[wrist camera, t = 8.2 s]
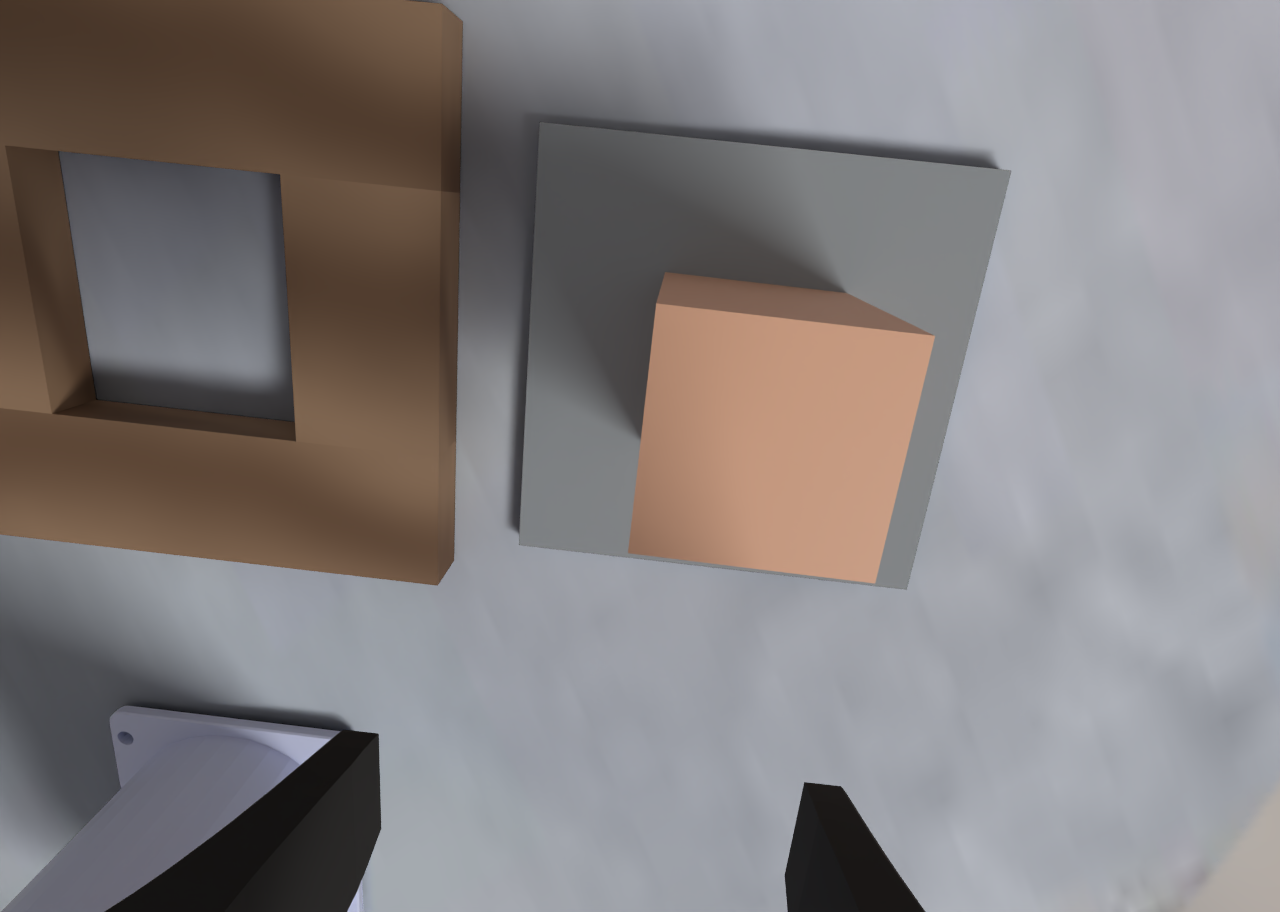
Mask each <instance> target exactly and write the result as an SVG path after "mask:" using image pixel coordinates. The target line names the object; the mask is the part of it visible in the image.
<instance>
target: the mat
mask: <svg viewBox="0 0 1280 912" xmlns="http://www.w3.org/2000/svg"><path fill="white" fill-rule="evenodd" d="M1010 174H1011V170H1001V169H992V168H982V167H972V166H963V165H953V164H943V163H933V162H924V161H914V160H904V159H894V158H885V157H875V156H865V155H856V154H846V153H836V152H826V151H817V150H807V149H797V148H788V147H778V146H768V145H758V144H749V143H739V142H729V141H719V140H710V139H700V138H690V137H681V136H671V135H661V134H651V133H642V132H632V131H622V130H613V129H603V128H593V127H583V126H574V125H564V124H554V123H545V122H539V142H538V162H537V183H536V203H535V224H534V244H533V265H532V285H531V306H530V326H529V347H528V367H527V388H526V409H525V429H524V450H523V470H522V491H521V511H520V532H519V545H522V546H531V547H540V548H549V549H557V550H566V551H575V552H583V553H592V554H601V555H609V556H618V557H627V558H635V559H644V560H653V561H661V562H670V563H679V564H687V565H696V566H705V567H714V568H722V569H731V570H740V571H748V572H757V573H766V574H774V575H783V576H792V577H800V578H809V579H818V580H826V581H835V582H844V583H852V584H861V585H870V586H879V587H887V588H896V589H905V590H907V587H908V583H909V579H910V575H911V571H912V567H913V563H914V559H915V555H916V551H917V547H918V543H919V539H920V535H921V531H922V527H923V523H924V519H925V515H926V511H927V507H928V503H929V499H930V495H931V491H932V487H933V483H934V479H935V475H936V471H937V467H938V463H939V459H940V455H941V451H942V447H943V443H944V439H945V435H946V431H947V427H948V423H949V419H950V415H951V411H952V407H953V403H954V399H955V395H956V391H957V387H958V383H959V379H960V375H961V370H962V366H963V362H964V358H965V354H966V350H967V346H968V342H969V338H970V334H971V330H972V326H973V322H974V318H975V314H976V310H977V306H978V302H979V298H980V294H981V290H982V286H983V282H984V278H985V274H986V270H987V266H988V262H989V258H990V254H991V250H992V246H993V242H994V238H995V234H996V230H997V226H998V222H999V218H1000V214H1001V210H1002V206H1003V202H1004V198H1005V194H1006V190H1007V186H1008V182H1009V178H1010ZM665 272H669V273H678V274H686V275H695V276H704V277H712V278H721V279H730V280H738V281H747V282H756V283H764V284H773V285H782V286H790V287H799V288H808V289H816V290H825V291H834V292H842V293H848V294H850V295H852V296H854V297H856V298H858V299H860V300H862V301H864V302H866V303H868V304H871V305H873V306H875V307H877V308H879V309H881V310H883V311H885V312H887V313H889V314H891V315H893V316H895V317H897V318H899V319H901V320H903V321H906V322H908V323H910V324H912V325H914V326H916V327H918V328H920V329H922V330H924V331H926V332H928V333H930V334H932V335H934V336H935V339H934V343H933V347H932V351H931V355H930V359H929V364H928V368H927V372H926V376H925V380H924V384H923V388H922V392H921V397H920V401H919V405H918V409H917V413H916V417H915V421H914V425H913V430H912V434H911V438H910V442H909V446H908V450H907V454H906V458H905V463H904V467H903V471H902V475H901V479H900V483H899V487H898V491H897V496H896V500H895V504H894V508H893V512H892V516H891V520H890V524H889V529H888V533H887V537H886V541H885V545H884V549H883V553H882V557H881V562H880V566H879V570H878V574H877V578H876V582H875V584H874V583H866V582H858V581H850V580H842V579H834V578H825V577H817V576H809V575H801V574H793V573H785V572H777V571H768V570H760V569H752V568H744V567H736V566H728V565H719V564H711V563H703V562H695V561H687V560H679V559H671V558H662V557H654V556H646V555H638V554H630V553H628V548H629V539H630V530H631V521H632V513H633V504H634V495H635V486H636V477H637V469H638V460H639V451H640V442H641V433H642V425H643V416H644V407H645V398H646V389H647V380H648V372H649V363H650V354H651V345H652V336H653V328H654V319H655V310H656V303H657V299H658V296H659V292H660V289H661V285H662V281H663V278H664V274H665Z"/></svg>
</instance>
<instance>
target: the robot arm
mask: <svg viewBox="0 0 1280 912" xmlns="http://www.w3.org/2000/svg"><path fill="white" fill-rule="evenodd" d="M109 723H110V729H111V735H112V740H113V746H114V752H115V758H116V763H117V769H118V775H119V781H120V787H121V789H120V790H119V791H118V792H117V793H116V794H115V795H114V797H113V798H112V799H111V800H110V801H109V802H108V803H107V804H106V805H105V806H104V807H103V808H102V809H101V810H100V811H99V812H98V813H97V814H96V815H95V816H94V817H93V818H92V819H91V820H90V821H89V822H88V823H87V824H86V825H85V826H84V827H83V828H82V829H81V830H80V831H79V832H78V833H77V834H76V836H75V837H74V838H73V839H72V840H71V841H70V842H69V843H68V844H67V845H66V846H65V847H64V848H63V849H62V850H61V851H60V852H59V853H58V854H57V855H56V856H55V857H54V858H53V859H52V860H51V861H50V862H49V863H48V864H47V865H46V866H45V867H44V868H43V869H42V870H41V871H40V872H39V873H38V875H37V876H36V877H35V878H34V879H33V880H32V881H31V882H30V883H29V884H28V885H27V886H26V887H25V888H24V889H23V890H22V891H21V892H20V893H19V894H18V895H17V896H16V897H15V898H14V899H13V900H12V901H11V902H10V903H9V904H8V905H7V906H6V907H5V908H4V909H3V910H2V911H1V912H363V888H362V878H363V875H364V873H365V870H366V868H367V865H368V863H369V860H370V857H371V854H372V852H373V849H374V846H375V844H376V841H377V838H378V835H379V833H380V830H381V806H380V769H379V734H376V733H367V732H359V731H350V730H342V731H334V730H326V729H317V728H309V727H301V726H293V725H284V724H276V723H268V722H260V721H251V720H243V719H235V718H227V717H218V716H210V715H202V714H194V713H185V712H177V711H169V710H161V709H152V708H144V707H136V706H123V707H121V708H119V709H118V710H117V711H115V712H114V713H113V714H112V715H111V717H110V722H109ZM785 884H786V896H787V908H788V912H925V911H924V909H923V908H922V906H921V905H920V904H919V902H918V901H917V899H916V898H915V897H914V895H913V894H912V892H911V891H910V889H909V888H908V887H907V885H906V884H905V882H904V881H903V880H902V878H901V877H900V875H899V874H898V872H897V871H896V869H895V868H894V866H893V865H892V863H891V862H890V861H889V859H888V858H887V856H886V854H885V853H884V851H883V850H882V848H881V847H880V845H879V844H878V842H877V841H876V839H875V838H874V836H873V835H872V833H871V832H870V830H869V828H868V827H867V825H866V824H865V822H864V821H863V819H862V817H861V816H860V814H859V813H858V811H857V809H856V808H855V806H854V805H853V803H852V802H851V800H850V798H849V797H848V795H847V794H846V792H845V791H844V790H843V788H842V787H841V786H832V785H824V784H815V783H806V782H804V787H803V792H802V796H801V801H800V806H799V810H798V815H797V820H796V825H795V829H794V834H793V839H792V844H791V848H790V853H789V858H788V863H787V867H786V872H785Z"/></svg>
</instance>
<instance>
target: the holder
mask: <svg viewBox="0 0 1280 912" xmlns="http://www.w3.org/2000/svg"><path fill="white" fill-rule="evenodd" d="M462 38H463V21H461V20H460V19H459V18H458V17H457V16H456V15H454V14H453V13H452V12H451V11H450V10H449V9H448V8H446V7H445V6H444V5H443V4H439V3H429V2H419V1H409V0H0V534H2V535H10V536H19V537H27V538H36V539H44V540H53V541H62V542H70V543H79V544H87V545H96V546H104V547H113V548H122V549H130V550H139V551H147V552H156V553H164V554H173V555H182V556H190V557H199V558H207V559H216V560H225V561H233V562H242V563H250V564H259V565H267V566H276V567H285V568H293V569H302V570H310V571H319V572H327V573H336V574H345V575H353V576H362V577H370V578H379V579H388V580H396V581H405V582H413V583H422V584H430V585H438V584H439V583H440V581H441V579H442V578H443V576H444V575H445V573H446V572H447V570H448V569H449V567H450V566H451V564H452V563H453V561H454V530H455V469H456V407H457V346H458V284H459V222H460V161H461V99H462ZM58 151H63V152H73V153H82V154H92V155H102V156H111V157H121V158H130V159H140V160H149V161H159V162H168V163H178V164H187V165H197V166H206V167H216V168H225V169H235V170H244V171H254V172H263V173H273V174H280V182H281V199H282V215H283V232H284V248H285V265H286V281H287V298H288V315H289V331H290V348H291V364H292V381H293V398H294V414H295V422H290V421H281V420H272V419H263V418H254V417H245V416H236V415H227V414H218V413H210V412H201V411H192V410H183V409H174V408H165V407H156V406H147V405H138V404H129V403H120V402H112V401H103V400H96V395H95V389H94V382H93V376H92V369H91V363H90V356H89V350H88V343H87V337H86V330H85V324H84V317H83V310H82V304H81V297H80V291H79V284H78V278H77V271H76V265H75V258H74V252H73V245H72V239H71V232H70V225H69V219H68V212H67V206H66V199H65V193H64V186H63V180H62V173H61V167H60V160H59V153H58Z"/></svg>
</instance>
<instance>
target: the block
mask: <svg viewBox="0 0 1280 912" xmlns="http://www.w3.org/2000/svg"><path fill="white" fill-rule="evenodd" d="M934 339H935V336H934V335H932V334H930V333H928V332H926V331H924V330H922V329H920V328H918V327H916V326H914V325H912V324H910V323H908V322H906V321H903V320H901V319H899V318H897V317H895V316H893V315H891V314H889V313H887V312H885V311H883V310H881V309H879V308H877V307H875V306H873V305H871V304H868V303H866V302H864V301H862V300H860V299H858V298H856V297H854V296H852V295H850V294H848V293H842V292H834V291H825V290H816V289H808V288H799V287H790V286H782V285H773V284H764V283H756V282H747V281H738V280H730V279H721V278H712V277H704V276H695V275H686V274H678V273H669V272H665V274H664V278H663V281H662V285H661V289H660V292H659V296H658V299H657V303H656V310H655V319H654V328H653V336H652V345H651V354H650V363H649V372H648V380H647V389H646V398H645V407H644V416H643V425H642V433H641V442H640V451H639V460H638V469H637V477H636V486H635V495H634V504H633V513H632V521H631V530H630V539H629V548H628V553H630V554H638V555H646V556H654V557H662V558H671V559H679V560H687V561H695V562H703V563H711V564H719V565H728V566H736V567H744V568H752V569H760V570H768V571H777V572H785V573H793V574H801V575H809V576H817V577H825V578H834V579H842V580H850V581H858V582H866V583H874V584H875V582H876V578H877V574H878V570H879V566H880V562H881V557H882V553H883V549H884V545H885V541H886V537H887V533H888V529H889V524H890V520H891V516H892V512H893V508H894V504H895V500H896V496H897V491H898V487H899V483H900V479H901V475H902V471H903V467H904V463H905V458H906V454H907V450H908V446H909V442H910V438H911V434H912V430H913V425H914V421H915V417H916V413H917V409H918V405H919V401H920V397H921V392H922V388H923V384H924V380H925V376H926V372H927V368H928V364H929V359H930V355H931V351H932V347H933V343H934Z"/></svg>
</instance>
